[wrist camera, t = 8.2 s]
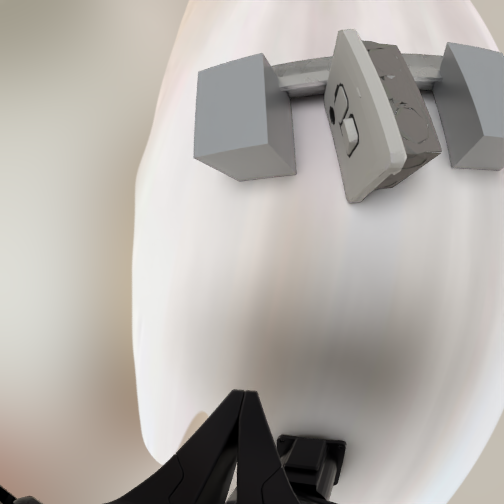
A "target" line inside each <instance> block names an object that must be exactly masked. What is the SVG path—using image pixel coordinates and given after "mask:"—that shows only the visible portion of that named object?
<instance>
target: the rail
mask: <svg viewBox="0 0 504 504" xmlns="http://www.w3.org/2000/svg"><path fill="white" fill-rule="evenodd" d="M401 55H402V56H403V58H404V60H405V62H406V64H407V66H408V68H409V70H410V72H411V74H412V76H413V78H414V80H415V82H416V84H417V87H418V89H419V90H433V87H434V84H435V82H442V80H443V77H442V74H441V72H440V66H441V63H442V59H443V56H436V55H423V54H401ZM395 57H396V56H395ZM332 58H333V56H332V57H323V58H316V59H309V60H302V61H296V62H290V63H285V64H279V65H274V66H271V67H272V69H273V71H274V72H275V74H276V76H277V77H278V81H279V88H280V90H281V91H286V93H287V95H288V96H289V98H295V97H302V96H309V95H317V94H325V90H326V86H327V81H328V77H329V72H330V68H331V63H332ZM396 58H397V59H398V57H396ZM400 71H401V69H400ZM387 77H388V78H391V79H392V78H394V77H395V76H387Z"/></svg>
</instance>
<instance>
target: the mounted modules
mask: <svg viewBox="0 0 504 504" xmlns="http://www.w3.org/2000/svg"><path fill="white" fill-rule="evenodd" d="M440 72H441V74H442V77H443V80H442V82H435V84H434V87H433V90H432V92H433V95H434V98H435V101H436V104H437V108H438V111H439V114H440V118H441V121H442V125H443V129H444V133H445V137H446V141H447V146H448V150H449V155H450V160H451V165H452V168H463V169H484V170H501V169H502V168H504V56H503V54H502V53H500V52H496V51H492V50H488V49H484V48H479V47H474V46H469V45H463V44H457V43H450V42H447V45H446V49H445V52H444V56H443V59H442V63H441V66H440ZM194 158H195V159H197V160H199V161H201V162H203V163H205V164H207V165H208V166H210V167H212V168H214V169H216V170H218V171H220V172H222V173H224V174H226V175H228V176H230V177H232V178H234V179H236V180H237V181H246V180H253V179H261V178H269V177H278V176H287V175H296V161H295V148H294V135H293V124H292V113H291V103H290V98H289V96H288V95H287V93H286V91H281V90H280V88H279V81H278V77H277V76H276V74H275V72H274V71H273V69H272V67H271V66H270V64H269V62H268V61H267V59H266V58H265V56H264V54H263V53H260V54H256V55H252V56H248V57H244V58H241V59H237V60H234V61H230V62H227V63H224V64H220V65H217V66H214V67H211V68H208V69H205V70H202V71H199V72H198V83H197V96H196V112H195V132H194Z"/></svg>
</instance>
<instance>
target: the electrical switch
mask: <svg viewBox="0 0 504 504" xmlns="http://www.w3.org/2000/svg"><path fill="white" fill-rule="evenodd" d="M395 56H396V57H398V59H397V58H396V57H395ZM400 69H401V71H400ZM387 76H395V77H394V78H392V79H391V78H388V77H387ZM392 101H393V102H392ZM324 105H325V109H326V113H327V116H328V120H329V124H330V127H331V131H332V135H333V139H334V143H335V147H336V151H337V156H338V160H339V164H340V169H341V174H342V178H343V183H344V188H345V193H346V198H347V200H348V202H349V203H351V202H361V201H362V200H363V199H364V198H365V197H366V196H367V195H368V194H369V193H370V192H372V191H373V190H376V189H380V188H392V187H394V186H395V185H396V184H398V183H399V182H401V181H402V180H404V179H405V178H407V177H408V176H409V175H411V174H412V173H414V172H415V171H417V170H418V169H419V168H421V167H422V166H424V165H425V164H427V163H428V162H429V161H431V160H432V159H434V158H435V157H436V156H438V155H439V154H441V153H432V152H441V151H442V150H441V147H440V143H439V140H438V137H437V134H436V131H435V129H434V126H433V123H432V120H431V118H430V115H429V113H428V110H427V107H426V105H425V103H424V100H423V98H422V96H421V93H420V91H419V89H418V87H417V84H416V82H415V80H414V78H413V76H412V74H411V72H410V70H409V68H408V66H407V64H406V62H405V60H404V58H403V56H402V55H401V53H400V51H399V49H398V47H397V46H396V45H389V44H379V43H375V42H372V41H362V40H361V38H360V36H359V35H358V33H357V31H356V30H355V29H347V30H340V31H338V36H337V40H336V45H335V49H334V54H333V58H332V63H331V68H330V72H329V77H328V81H327V86H326V90H325V95H324ZM409 108H411V109H412V110H411V109H409ZM396 111H397V113H396V114H395V112H396ZM427 124H428V127H427ZM403 137H404V138H405V139H404V138H403Z"/></svg>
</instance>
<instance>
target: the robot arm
mask: <svg viewBox="0 0 504 504" xmlns="http://www.w3.org/2000/svg"><path fill="white" fill-rule="evenodd" d="M281 439H282V440H284V441H282V440H281ZM339 445H341V446H342V447H340V446H339ZM345 449H346V443H345V442H344V441H333V440H319V439H309V438H300V437H292V436H285V435H281V436H279V437H278V439H277V448H276V446H275V443H274V440H273V437H272V434H271V431H270V428H269V425H268V422H267V420H266V417H265V414H264V411H263V408H262V405H261V402H260V399H259V396H258V393H257V391H251V390H246V391H244V390H237V389H234V390H232V391H231V392H230V393H229V394H228V396H227V397H226V398H225V399H224V400H223V401H222V403H221V404H220V405H219V406H218V407H217V408H216V410H215V411H214V412H213V413H212V414H211V415H210V416H209V418H208V419H207V420H206V421H205V422H204V423H203V424H202V425H201V427H200V428H199V429H198V430H197V431H196V432H195V433H194V434H193V435H192V436H191V437H190V439H189V440H188V441H187V442H186V443H185V444H184V445H183V446H182V447H181V448H180V449H179V450H178V451H177V452H176V454H174V455H173V456H172V457H171V458H170V459H169V460H168V461H167V462H166V463H165V464H164V465H163V466H162V467H161V468H160V469H159V470H158V471H157V472H155V473H154V474H153V475H152V476H150V477H149V478H148V479H146V480H145V481H144V482H142V483H141V484H139V485H138V486H137V487H135V488H134V489H132V490H131V491H129V492H128V493H126V494H125V495H124V496H122V497H120V498H118V499H117V500H114V501H112V502H109V503H104V504H337V503H334V502H330V501H329V498H330V494H331V491H332V487H333V485H337V483H338V480H339V476H340V472H341V467H342V463H343V458H344V454H345ZM236 463H237V487H236V488H235V490H234V491H233V492H232V494H231V495H230V497H229V498H228V500H227V501H226V498H227V494H228V491H229V488H230V484H231V481H232V477H233V474H234V470H235V467H236ZM225 501H226V503H225ZM0 504H43V503H41V502H40V501H39V500H37V499H36V498H34V497H32V496H27V497H22V498H19V499H17V498H16V497H14V496H13V495H12V494H11V493H10V492H8V491H7V490H6V489H5V488H3V487H2V486H1V485H0Z"/></svg>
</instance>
